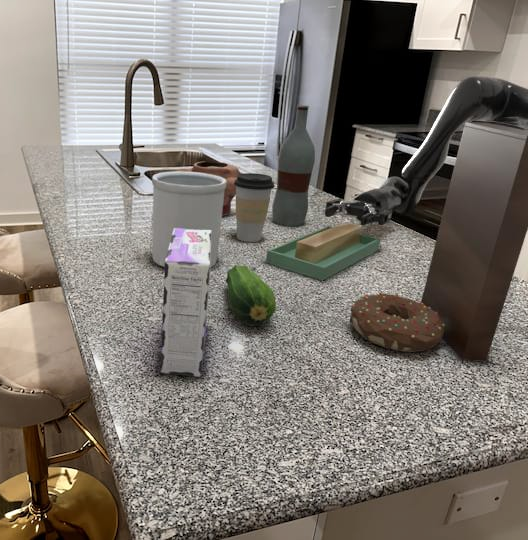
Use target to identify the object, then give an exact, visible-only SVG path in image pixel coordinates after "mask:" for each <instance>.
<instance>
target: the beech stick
mask: <svg viewBox="0 0 528 540" xmlns="http://www.w3.org/2000/svg"><path fill="white" fill-rule="evenodd" d="M332 227H333V228H330V229H328V230H325V231H323V232H320V233H318V234H315V235H312V236H310V237H307V238H305V239H302V240H300V241H297V245H296V252H295V258H297V259H301V260H304V261H307V262H311V263H314V264H316V263H318V262H320V261H322V260H324V259H326V258H329V257H331V256H333V255H335V254H337V253H339V252H341V251H343V250H345V249H347V248H350V247H352V246H354V245H356V244H358V243H359V242H360V237H361V234H362V231H363V226H362V225H357V224H353V223H349V222H342V223H340V224H338V225H335V226H332Z"/></svg>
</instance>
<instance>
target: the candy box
mask: <svg viewBox="0 0 528 540" xmlns="http://www.w3.org/2000/svg"><path fill="white" fill-rule="evenodd" d="M211 239H212V231H211V230H201V229H182V228H174V230H173V233H172V237H171V241H170V244H169V248H168V252H167V255H166V259H165V267H164V273H163V294H162V295H163V297H162V318H161V319H162V320H161V345H160V346H161V347H160V371H159V372H160V373H161V374H168V375H176V376H177V375H179V376H185V377H186V376H187V377H195V378H196V377H197V378H201V376H202V375H203V363H204V353H205V343H206V334H207V322H208V312H209V311H208V309H209V296H210V282H211V268H212V267H211Z"/></svg>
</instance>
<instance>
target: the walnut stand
mask: <svg viewBox="0 0 528 540" xmlns="http://www.w3.org/2000/svg"><path fill="white" fill-rule="evenodd" d="M527 233H528V131H526V130H524V129H522V128H516V127H511V126H505V125H502V124H500V125H499V124H496V123H492V122H480V121H465V122H464V126H463V130H462V135H461V138H460V141H459V146H458V150H457V155H456V159H455V161H454V167H453V171H452V175H451V179H450V183H449V186H448V191H447V195H446V199H445V203H444V207H443V211H442V215H441V219H440V223H439V227H438V232H437V236H436V239H435V242H434V243H435V245H434V247H433V252H432V256H431V259H430V264H429V267H428V272H427V276H426V279H425V285H424V289H423V293H422V296H421V300H420V303H423V305H426V306H427V307H430V308H431V309H432V310H433V311H435V312H437V314H438V315H439V317H440V319H441V320H442V322H443V324H444V328H445V330H444V333H443V337H442V340H443V341H445V343H446V344H447V345H448V346H449V347H450V349H452V350H453V351H454V353H456V355H457V356H458V357H459V359H461V360H462V361H474V362H487V360H488V357H489V353H490V351H491V347H492V345H493V344H492V343H493V341H494V338H495V334H496V332H497V328H498V325H499V321H500V318H501V316H502V312H503V310H504V306H505V304H506V300H507V297H508V294H509V291H510V287H511V285H512V281H513V277H514V274H515V271H516V267H517V265H518V261H519V258H520V255H521V252H522V249H523V245H524V242H525V239H526V236H527Z"/></svg>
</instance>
